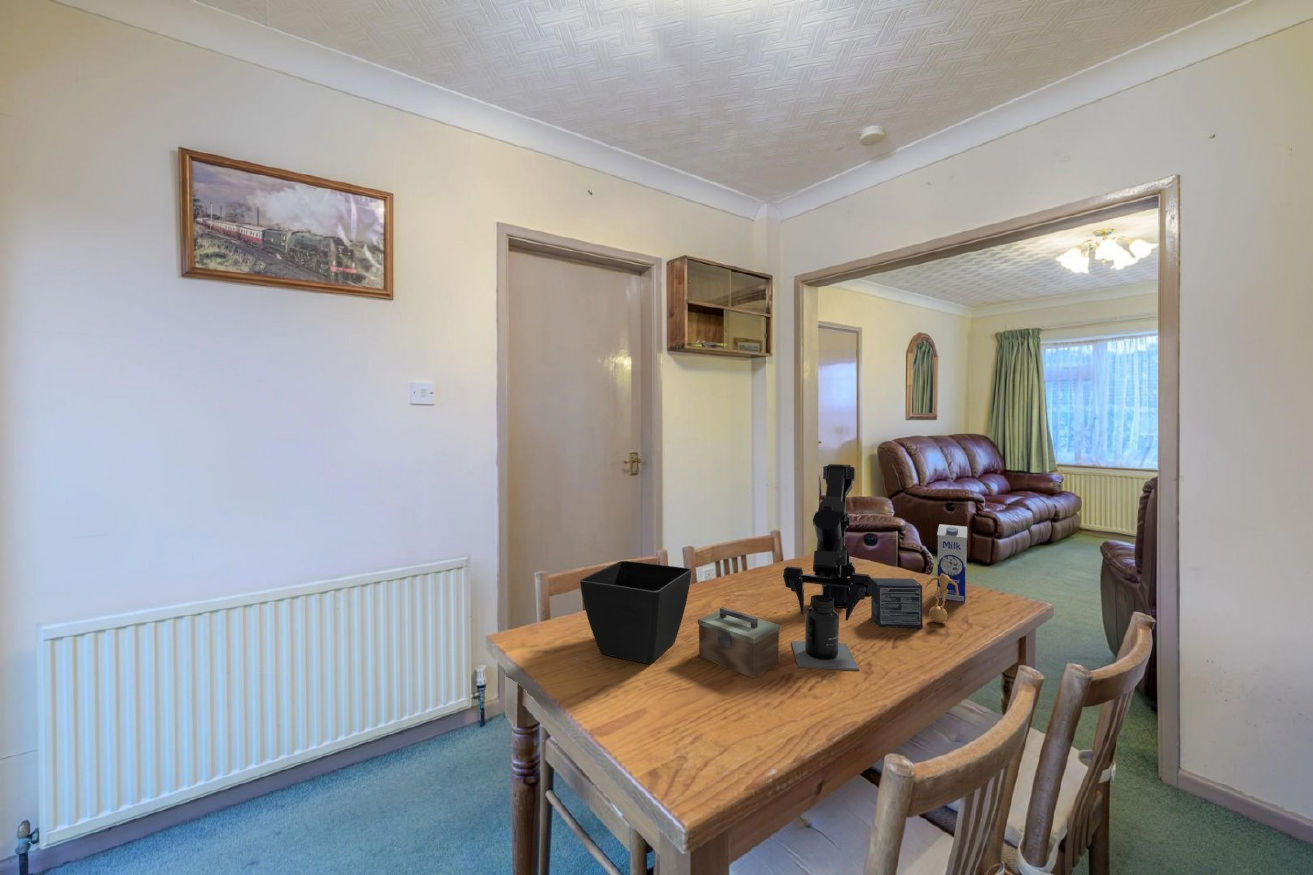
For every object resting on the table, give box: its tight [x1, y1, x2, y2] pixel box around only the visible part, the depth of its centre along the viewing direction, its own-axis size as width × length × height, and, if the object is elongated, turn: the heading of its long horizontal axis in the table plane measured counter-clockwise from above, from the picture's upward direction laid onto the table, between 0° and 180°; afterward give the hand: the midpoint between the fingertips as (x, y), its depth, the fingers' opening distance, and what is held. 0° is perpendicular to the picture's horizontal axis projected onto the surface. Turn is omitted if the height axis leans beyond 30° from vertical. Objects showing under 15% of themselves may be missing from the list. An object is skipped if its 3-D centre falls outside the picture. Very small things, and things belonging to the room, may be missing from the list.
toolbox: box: [697, 606, 781, 679], centre depth 111 cm, size 14×10×10 cm
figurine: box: [924, 573, 959, 624], centre depth 131 cm, size 8×6×12 cm
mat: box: [790, 640, 860, 671], centre depth 113 cm, size 12×12×1 cm
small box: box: [870, 577, 924, 629], centre depth 131 cm, size 11×6×10 cm, turn 84°
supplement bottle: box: [804, 594, 840, 660], centre depth 113 cm, size 7×7×12 cm
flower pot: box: [579, 560, 692, 665], centre depth 117 cm, size 19×19×17 cm
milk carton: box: [936, 524, 968, 604], centre depth 148 cm, size 7×7×20 cm
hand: (824, 616), depth 115 cm, fingers open, 9 cm apart
